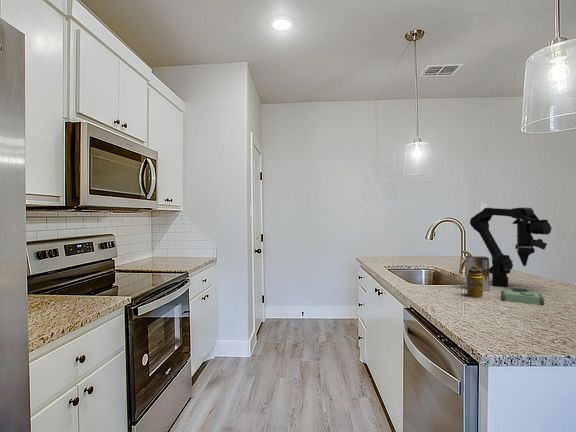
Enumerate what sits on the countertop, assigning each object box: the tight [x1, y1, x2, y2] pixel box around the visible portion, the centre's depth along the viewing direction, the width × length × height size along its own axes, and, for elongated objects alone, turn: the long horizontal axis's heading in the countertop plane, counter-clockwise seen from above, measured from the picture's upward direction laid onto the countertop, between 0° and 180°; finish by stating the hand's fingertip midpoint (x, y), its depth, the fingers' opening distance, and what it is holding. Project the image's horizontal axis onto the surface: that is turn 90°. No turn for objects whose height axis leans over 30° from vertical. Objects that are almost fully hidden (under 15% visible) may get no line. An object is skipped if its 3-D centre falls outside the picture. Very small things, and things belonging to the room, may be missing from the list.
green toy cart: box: [500, 289, 545, 306], centre depth 142 cm, size 14×12×4 cm
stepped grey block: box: [511, 285, 528, 292], centre depth 147 cm, size 5×6×4 cm
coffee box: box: [465, 255, 491, 292], centre depth 162 cm, size 9×6×16 cm
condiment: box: [459, 269, 488, 299], centre depth 149 cm, size 7×8×12 cm
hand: (524, 265), depth 158 cm, fingers closed
